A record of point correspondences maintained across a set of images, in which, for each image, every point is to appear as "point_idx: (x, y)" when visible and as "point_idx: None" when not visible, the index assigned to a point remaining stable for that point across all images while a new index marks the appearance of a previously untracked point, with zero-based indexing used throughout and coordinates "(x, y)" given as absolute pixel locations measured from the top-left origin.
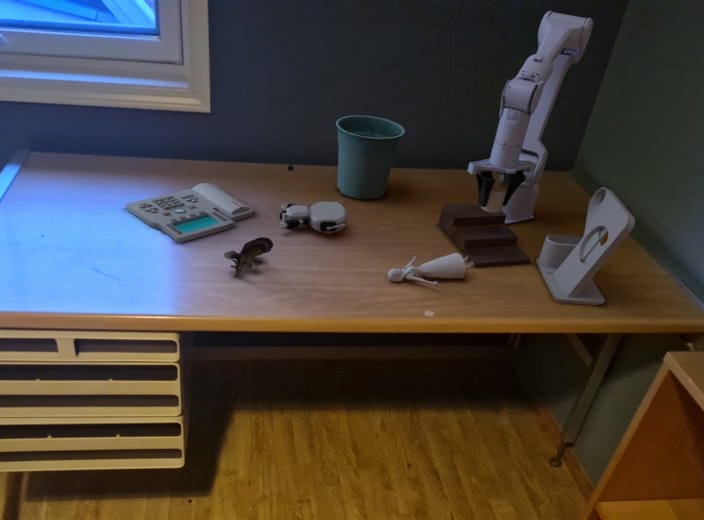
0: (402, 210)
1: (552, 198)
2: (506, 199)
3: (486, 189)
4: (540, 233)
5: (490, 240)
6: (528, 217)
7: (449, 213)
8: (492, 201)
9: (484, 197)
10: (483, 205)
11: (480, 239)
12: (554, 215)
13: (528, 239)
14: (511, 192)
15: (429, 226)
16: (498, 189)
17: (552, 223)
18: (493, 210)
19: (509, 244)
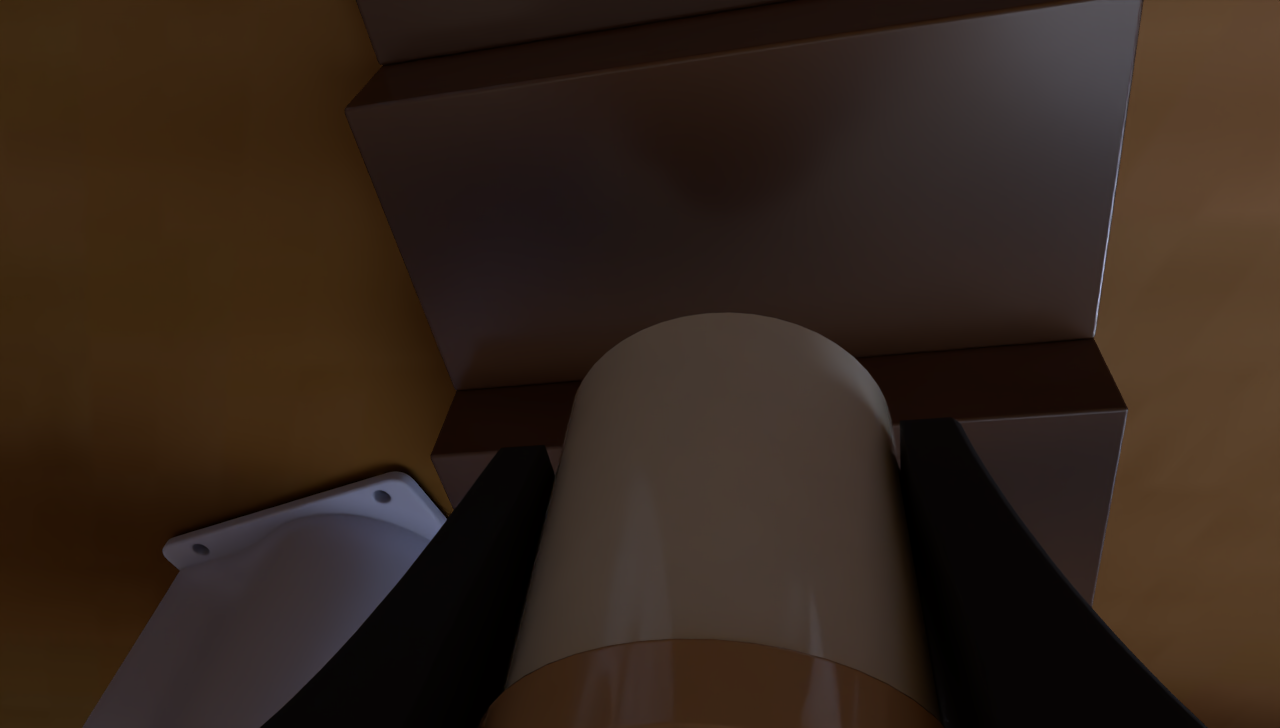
0: (1207, 656)
1: (46, 722)
2: (505, 525)
3: (1152, 718)
4: (117, 346)
5: (730, 39)
6: (207, 541)
7: (1107, 503)
8: (823, 471)
9: (1040, 548)
10: (955, 431)
11: (889, 25)
12: (19, 569)
13: (230, 247)
14: (406, 641)
15: (1129, 454)
16: (793, 703)
17: (25, 480)
18: (759, 339)
19: (460, 59)
